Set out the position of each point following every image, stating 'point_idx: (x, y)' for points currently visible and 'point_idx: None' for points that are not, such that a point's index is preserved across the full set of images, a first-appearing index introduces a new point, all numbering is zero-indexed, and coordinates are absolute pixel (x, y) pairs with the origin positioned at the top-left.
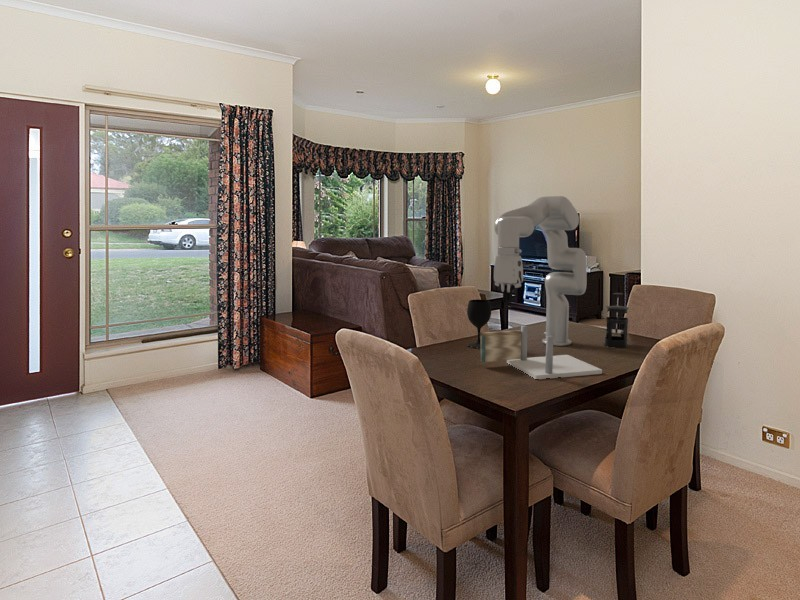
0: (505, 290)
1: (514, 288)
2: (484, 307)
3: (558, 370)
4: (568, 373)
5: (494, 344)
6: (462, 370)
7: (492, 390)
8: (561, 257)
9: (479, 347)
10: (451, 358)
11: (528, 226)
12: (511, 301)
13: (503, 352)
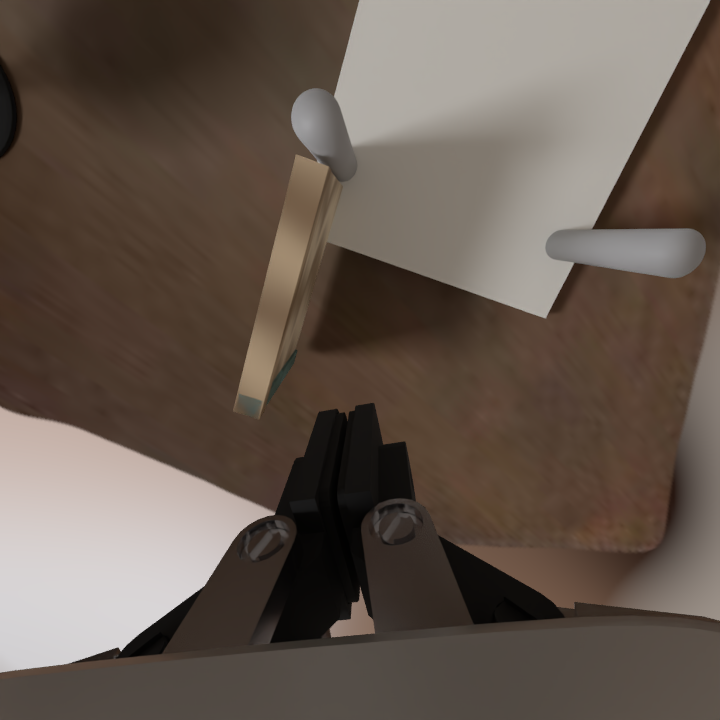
0: (336, 618)
1: (497, 592)
2: None
3: (570, 178)
4: (620, 169)
5: (290, 330)
6: (293, 430)
7: (512, 493)
8: None
9: (5, 135)
10: (131, 361)
11: None
12: (375, 411)
13: (311, 276)
